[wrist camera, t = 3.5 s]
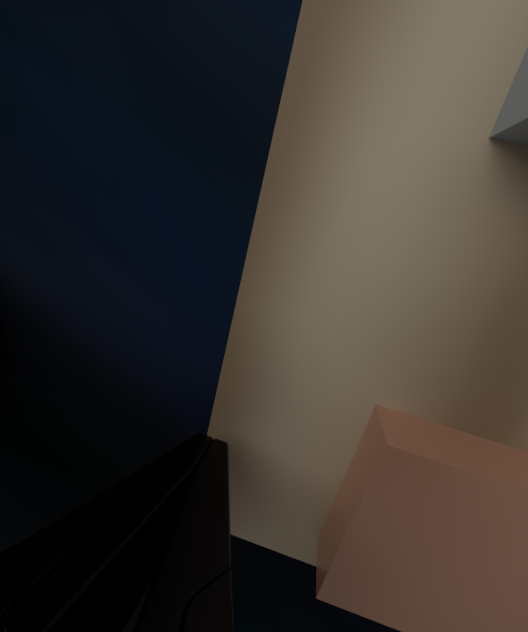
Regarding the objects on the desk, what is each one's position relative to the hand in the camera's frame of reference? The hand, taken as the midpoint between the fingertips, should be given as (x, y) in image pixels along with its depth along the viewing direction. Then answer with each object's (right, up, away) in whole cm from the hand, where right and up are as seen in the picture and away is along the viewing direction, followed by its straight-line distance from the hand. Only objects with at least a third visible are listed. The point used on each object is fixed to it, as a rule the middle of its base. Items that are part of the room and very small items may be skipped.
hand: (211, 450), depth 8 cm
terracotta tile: (+6, -2, 0) cm, 6 cm away
